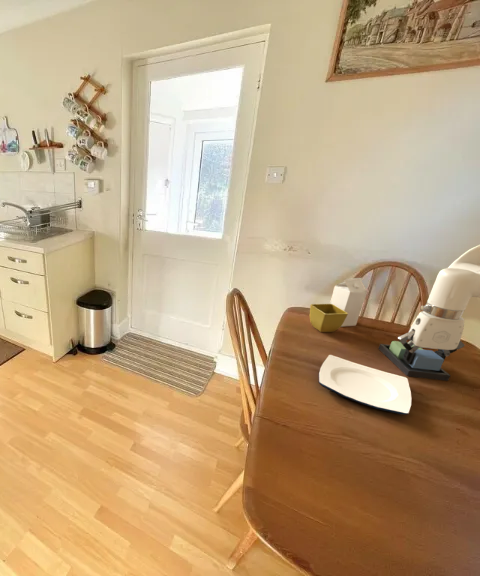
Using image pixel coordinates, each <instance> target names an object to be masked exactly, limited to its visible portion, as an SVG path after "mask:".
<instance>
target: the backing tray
mask: <svg viewBox="0 0 480 576" xmlns="http://www.w3.org/2000/svg"><path fill="white" fill-rule="evenodd" d="M390 345H391V344H386V343H380V344H379V345H378V350H379V351H380V352H381V353H382V354H383V355H384V356H385V357H386V358H387V359H388V360H390V361H391V363H393V364H394V365H395V366H396V367H397V368H398V369H399V370H400V371H401V372H402V374H404V375H405V377H406V376H407V377H412V378H419V379H428V380H429V379H430V380H436V381H437V380H438V381H444V382H445V381H446V382H449V380H450V378H451V374H449V372H448V371H446V370H445V369H443V368H442V367H441V368H440V370H439V371H437V370H428V369H418V368H413V367H412V366H410V365H409V364H408V363H407V362H406V361H405V360H401V359H399V358H397V357H396V356H395V355H394V354H393V353H392V352H391V351H390V350H389V348H390Z"/></svg>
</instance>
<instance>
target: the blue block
mask: <svg viewBox="0 0 480 576" xmlns="http://www.w3.org/2000/svg"><path fill="white" fill-rule="evenodd" d="M414 353H416V355H415V357H414V360H413V362H412V364H409V365H410V366H412V367H413V368H418V369H428V370H437V371H439V370H440V368H442V366H443V364H444V362H445V360H444V359H443V358H441V357H440V356H439V355H437V354H436V353H435V351H433V350H431V349H430V350H429V349H424V350H421V349H417V350H416V351H415V352H414ZM443 361H444V362H443Z"/></svg>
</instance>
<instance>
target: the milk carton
mask: <svg viewBox="0 0 480 576" xmlns="http://www.w3.org/2000/svg"><path fill="white" fill-rule="evenodd" d="M367 293H368V290H367V288H366V286H365V285H364V282H363V277H355V278H345V279H344V280H343V281H342V282H340V283H337V284H335V285H334V287H333V292H332V294H331V299H330V301H329V304H333V305H335V306H336V307H338V308H340V309H342V310H343V311H345V312H347V313H348V315H347V317H346V319H345V321H344V322H343V324H342V325H341V327H342V328H343V327H355V326H357V324H358V320H359V317H360V314H361V311H362V309H363V305H364V301H365V298H366V295H367ZM341 327H340V328H341Z"/></svg>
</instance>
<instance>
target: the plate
mask: <svg viewBox="0 0 480 576" xmlns="http://www.w3.org/2000/svg"><path fill="white" fill-rule="evenodd" d="M318 383H319V384H320V386H321V387H323V388H325V389H327V390H329V391H331V392H333V393H335V394H337V395H338V396H340V397H342V398H346V399H348V400H351V401H353V402H355V403H358V404H361V405H365V406H367V407H370V408H373V409H376V410H380V411H384V412H389V413H392V414H397V415H400V416H403V415H404V416H405V415H409V413H410V410H411V406H412V392H411V387H410V383H409V379H408V378H407V377H406V376H403V375H398V374H396V373H395V374H394V373H390V372H387V371H383V370H380V369H377V368H373V367H370V366H366V365H363V364H360V363H356V362H353V361H350V360H348V359H346V358H345V359H344V358H341V357H338V356H335V355H333V354H328V356H327V357H326V358H325V360H324V361H323V362H322V364H321V366H320V368H319V372H318Z"/></svg>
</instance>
